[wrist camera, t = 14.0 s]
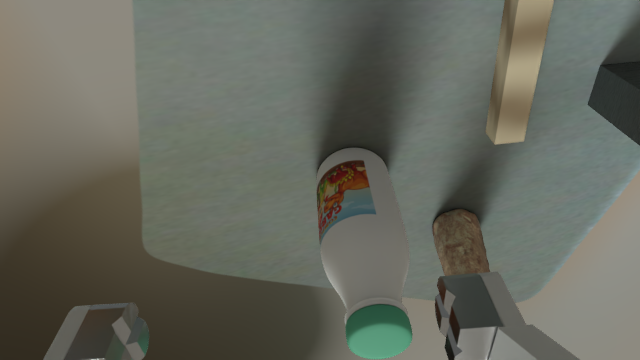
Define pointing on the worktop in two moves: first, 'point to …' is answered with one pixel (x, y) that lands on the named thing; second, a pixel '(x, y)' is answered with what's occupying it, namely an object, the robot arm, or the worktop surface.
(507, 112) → the rail
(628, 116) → the post
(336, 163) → the milk bottle
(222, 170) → the worktop surface
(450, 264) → the brown stone cone
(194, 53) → the worktop surface
